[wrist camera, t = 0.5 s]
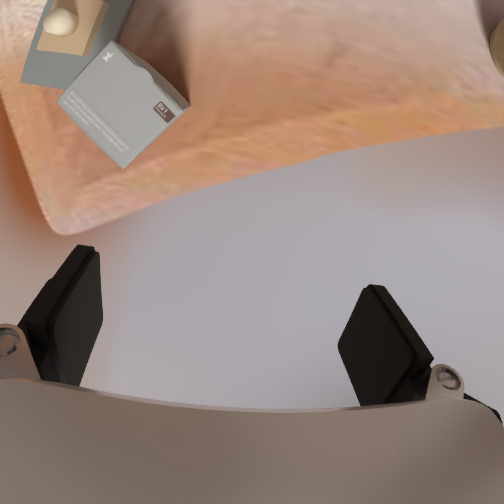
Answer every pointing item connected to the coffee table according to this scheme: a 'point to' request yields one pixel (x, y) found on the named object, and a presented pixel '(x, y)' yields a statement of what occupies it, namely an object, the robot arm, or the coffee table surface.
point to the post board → (66, 63)
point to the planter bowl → (498, 46)
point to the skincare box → (122, 103)
